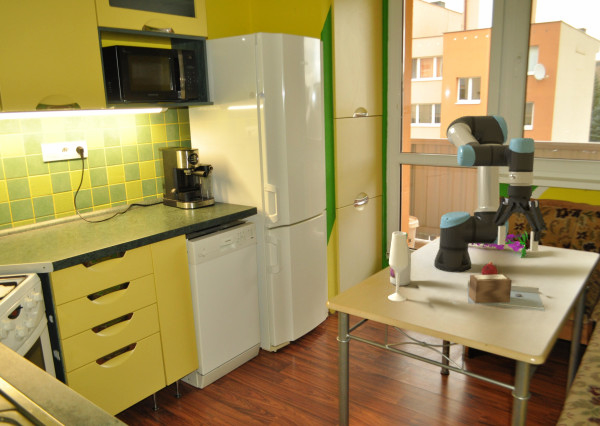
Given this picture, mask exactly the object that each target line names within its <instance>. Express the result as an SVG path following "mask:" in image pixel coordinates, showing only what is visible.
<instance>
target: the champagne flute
mask: <svg viewBox="0 0 600 426" xmlns="http://www.w3.org/2000/svg"><path fill="white" fill-rule="evenodd" d="M406 233H407V232H405V231H393V232H392V235H391V243H390V249H389V250H390V251H389V257H388V258H389V260H388V265H389V266H390V267H391V268H392V269H393V270H394V271H395V272H397V273H396V285H395V292H394V293H392V294H390V295H388V296H387V298H388V299H389V300H390V301H392V302H404V301H407V300H408V299H407V296H405V294H404V295H403V294H402V293H400V286H399V284H400V272H402V271H403V270H404V269H405V268H406V267H407V266H408V253H407V244H408V239H407V238H408V237H406Z"/></svg>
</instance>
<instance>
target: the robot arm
mask: <svg viewBox="0 0 600 426" xmlns="http://www.w3.org/2000/svg"><path fill="white" fill-rule="evenodd" d="M445 135H446V138H447V140H448V142H449V143H450V144H452V145H454V146H455V148H456V149H457V151H456V152H457V154H456V159H457V160H456V161H457V164H458V166H460V167H467V168H470V167H471V168H472V167H474V168H475V167H477V179H476V180H477V208H476V209H475V210H474V211H473V215H471V213H469V212H468V211H451V212H447V213H445V214H443V215H442V216H441V218H440V224H439V247H438V250H437V253H436V256H435V258H434V262H433V263H434V268H436V269H438V270H440V271H444V272H452V273H463V272H468V271H470V270H471V269H472V260H471V257H470V253H469V245H471V244H474V245H477V244H480V245H484V244H498V245H506V244H505V239H506V238H507V236H508V233H509V227H510V223H509V219H510V217H512V215H513V214H514V213H518V214H521V215H523V216H524V217H525V218H526V220H527V222H528V224H529V226H530V227H531V229H532V230H531V231H530V249H529V251H530V252H538V251H539V242H540V241H541V232H542V231H545V230H547V224H546V223H545V222H546V221H545V219H544V216H543V214H542V210H541V208H540V201H539V200H531V197H532V196H533V186H532V185H533V183H534V162H535V150H536V147H535V139H533V138H531V137H516V138H515V137H513V138H511V139H510V140H509V144H506V143H507V141H508V135H509V130H508V124H507V121H506V119H505V117H503V116H502V115H492V114H491V115H464V116H460V117H458V118H456V119H455V120H453V121H451V122H450V124H449V125H448V126H447V129H446V133H445ZM500 167H504V168H505V167H508V178H507V180H508V181H507V183H508V185H507V193H506V194H507V196H508V197H501V198H500Z"/></svg>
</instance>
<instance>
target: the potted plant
mask: <svg viewBox="0 0 600 426" xmlns="http://www.w3.org/2000/svg"><path fill="white" fill-rule="evenodd" d="M524 233H525V234H523V233H519V234H518V233H517V234H516V235H515V234H514V233H512V234H507V236H506V239H505V244H503V245H498V244H482V248H487V247H489V248H492V247H493V248H495V249H497V250H499V251H500V250H502V251H503V250H505V248H504V247H505V245H507V246H508V248H511V249H512V250H513V251H514V252H518V251H520V249H521V251H520V252H521V256H520V259H521V258H524V257H525V256H526V255H527V251H528V250H530V240H531V239H530V240H529V239H528V238H529V237H528V233H527V231H526V230H524ZM521 238H522V239H521ZM514 239H518V240H519V241H518V240H516V241H515V240H514ZM470 245H472V246H475V244H470ZM476 246H479V247H481V244H476Z"/></svg>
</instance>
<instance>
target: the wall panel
mask: <svg viewBox="0 0 600 426" xmlns="http://www.w3.org/2000/svg"><path fill="white" fill-rule="evenodd" d="M469 286H470V279H469V280H467V303H468V304H471V305H473V304H474V305H480V306H481V305H482V306H490V307H493V306H494V307H501V308H511V309H513V308H514V309H522V310H531V311H541V312H545V311H546V309H545V307H544V305H543V302H542V299H541V297H540V295H539V291H540V289H539V288H540V287H539V286H537V285H536V286H535V285H525V284H514V283H511V294H510V302H499V303H475V302H474V301H473V300H472V299H471V298H470V297H469Z"/></svg>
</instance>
